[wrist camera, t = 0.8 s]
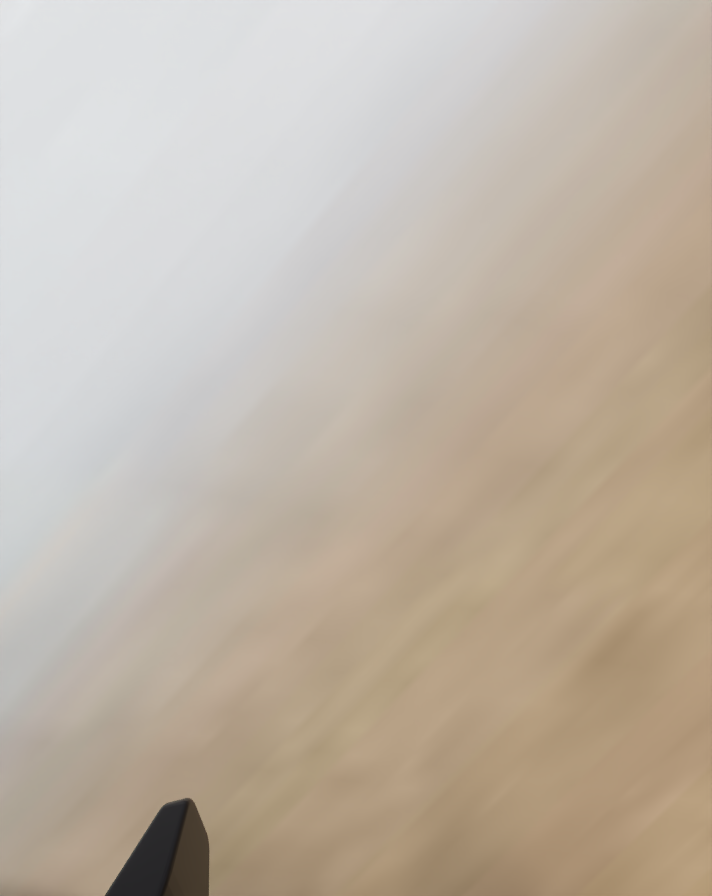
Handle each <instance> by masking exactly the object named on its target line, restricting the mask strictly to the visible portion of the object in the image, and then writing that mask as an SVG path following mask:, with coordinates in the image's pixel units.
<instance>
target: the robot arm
mask: <svg viewBox="0 0 712 896" xmlns="http://www.w3.org/2000/svg"><path fill="white" fill-rule="evenodd" d="M105 896H209V841H208V836H207V833H206V830H205V828H204V825H203V823H202V820H201V818H200V815H199V813H198V810H197V808H196V805H195V803H194V802H193V800H192V799H190V798H185V799H181V800H177V801H173V802H169V803H166V804H165V805H164V806H163V807H162V808H161V809H160V810H159V812H158V814H157V815H156V817H155V818H154V820H153V821H152V823H151V824H150V826H149V828H148V829H147V831H146V832H145V834H144V835H143V837H142V839H141V840H140V842H139V843H138V845H137V846H136V848H135V849H134V851H133V853H132V854H131V856H130V857H129V859H128V860H127V862H126V863H125V865H124V867H123V868H122V870H121V871H120V873H119V874H118V876H117V877H116V879H115V881H114V882H113V884H112V885H111V887H110V888H109V890H108V892H107V893H106V895H105Z"/></svg>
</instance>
